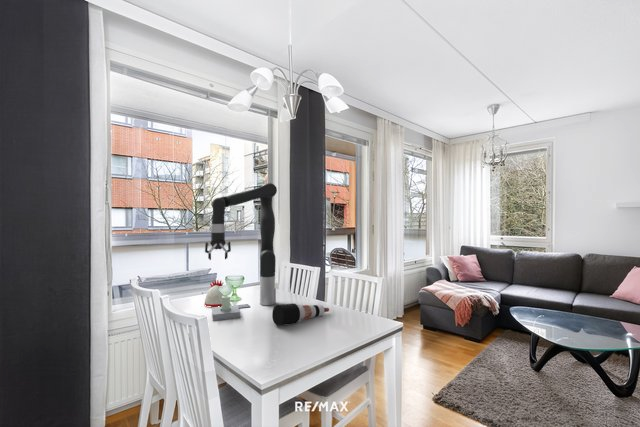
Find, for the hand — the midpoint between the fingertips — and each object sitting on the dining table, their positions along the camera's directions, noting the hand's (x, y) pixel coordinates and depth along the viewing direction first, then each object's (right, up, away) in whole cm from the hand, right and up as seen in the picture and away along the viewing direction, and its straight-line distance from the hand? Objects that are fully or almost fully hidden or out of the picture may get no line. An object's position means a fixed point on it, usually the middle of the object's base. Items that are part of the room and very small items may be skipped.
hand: (217, 259), depth 183 cm
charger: (+8, -29, -10) cm, 32 cm away
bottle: (+51, -30, -18) cm, 62 cm away
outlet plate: (+8, -29, -10) cm, 32 cm away
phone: (+11, -30, +5) cm, 32 cm away
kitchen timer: (-5, -30, +12) cm, 32 cm away
